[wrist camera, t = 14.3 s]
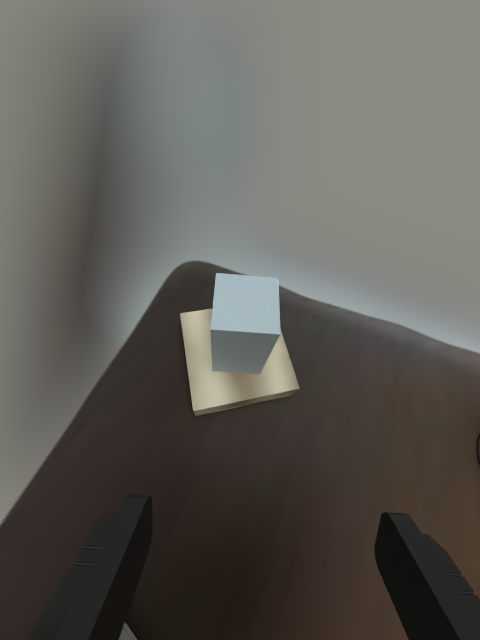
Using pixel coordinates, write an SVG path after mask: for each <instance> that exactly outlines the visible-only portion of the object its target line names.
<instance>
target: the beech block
mask: <svg viewBox="0 0 480 640" xmlns="http://www.w3.org/2000/svg"><path fill="white" fill-rule="evenodd" d="M212 310H213V309H207V310H200V311H193V312H187V313H180V316H181V323H182V331H183V338H184V346H185V353H186V361H187V368H188V376H189V383H190V391H191V398H192V405H193V412H194V414H195V416H200V415H205V414H209V413H214V412H218V411H223V410H227V409H232V408H237V407H241V406H246V405H250V404H255V403H260V402H264V401H269V400H273V399H278V398H283V397H287V396H291V395H292V394H294V393H295V392H296V391H297V390H298V389H300V388H299V385H298V382H297V379H296V376H295V373H294V370H293V367H292V363H291V360H290V357H289V354H288V351H287V348H286V345H285V342H284V339H283V335H282V332H281V329H280V336H279V338H278V340H277V342H276V344H275V346H274V348H273V350H272V352H271V354H270V356H269V358H268V359H267V361H266V363H265V365H264V367H263V369H262V371H261V373H260V374H248V373H232V372H216V371H212V353H211V331H210V329H211V319H212Z"/></svg>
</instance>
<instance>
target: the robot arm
mask: <svg viewBox="0 0 480 640" xmlns="http://www.w3.org/2000/svg"><path fill="white" fill-rule="evenodd" d="M478 454H479V460H480V438H479V442H478ZM151 538H152V497H151V495H136V494H129V495H128V496H127V497H126V499H125V501H124V503H123V505H122V507H121V509H120V511H119V512H108V513H107V514H106V515H105V516H104V517H103V518H102V519H101V520H100V521H99V522H98V523H97V524H96V525H95V526H94V527H93V529H92V531H91V532H90V534H89V536H88V538H87V539H86V541H85V543H84V545H83V548H82V549H81V550H80V551H79V553H78V555H77V557H76V558H75V560H74V563H73V565H71V567H70V569H69V571H68V572H67V574H66V576H65V577H64V579H63V581H62V583H61V584H60V586H59V588H58V590H57V591H56V593H55V595H54V597H53V598H52V600H51V602H50V603H49V605H48V607H47V609H46V610H45V612H44V614H43V616H42V617H41V619H40V621H39V623H38V624H37V626H36V628H35V629H34V631H33V633H32V634H31V636H30V638H29V639H28V640H119V638H120V635H121V632H122V629H123V626H124V623H125V620H126V617H127V614H128V611H129V608H130V605H131V602H132V599H133V596H134V593H135V590H136V587H137V584H138V581H139V578H140V575H141V572H142V569H143V567H144V564H145V561H146V558H147V555H148V551H149V548H150V544H151ZM375 558H376V562H377V566H378V569H379V571H380V574H381V576H382V578H383V581H384V583H385V585H386V588H387V590H388V592H389V595H390V597H391V599H392V602H393V604H394V606H395V609H396V611H397V613H398V616H399V618H400V620H401V623H402V625H403V627H404V629H405V632H406V634H407V636H408V639H409V640H480V600H479V598H478V597H477V596H475V595H474V592H473V590H472V588H471V587H470V585H469V584H468V582H467V581H466V579H465V578H464V577H462V575H461V572H460V571H459V569H458V568H457V566H456V565H455V564H454V562H453V561H452V559H451V558H450V556H449V555H448V553H447V552H446V551H445V550H444V549H443V548H442V547H441V546H440V545H439V544H438V543H437V542H436V541H435V540H433V539H432V538H431V537H430V536H429V535H425V534H422V533H421V532H420V530H419V529H418V527H417V525H416V524H415V522H414V521H413V519H412V518H411V517H410V516H409V515H408V514H403V513H388V512H384V513H382V515H381V519H380V524H379V528H378V533H377V538H376V542H375Z"/></svg>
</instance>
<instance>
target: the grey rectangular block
mask: <svg viewBox="0 0 480 640" xmlns="http://www.w3.org/2000/svg"><path fill="white" fill-rule="evenodd" d="M210 331H211V353H212V371H216V372H232V373H248V374H260V373H261V371H262V369H263V367H264V365H265V363H266V361H267V359H268V358H269V356H270V354H271V352H272V350H273V348H274V346H275V344H276V342H277V340H278V338H279V336H280V310H279V283H278V278H270V277H258V276H246V275H233V274H221V273H216V281H215V290H214V300H213V310H212V319H211V329H210Z"/></svg>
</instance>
